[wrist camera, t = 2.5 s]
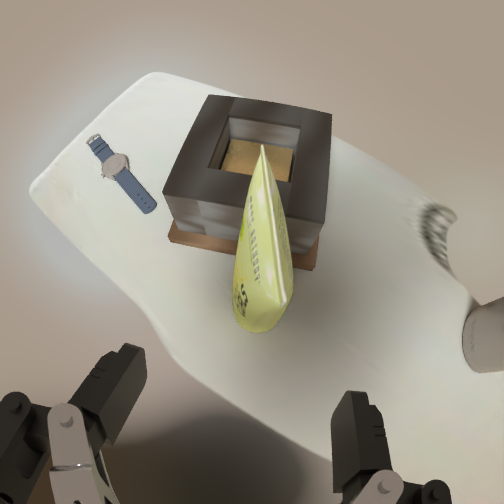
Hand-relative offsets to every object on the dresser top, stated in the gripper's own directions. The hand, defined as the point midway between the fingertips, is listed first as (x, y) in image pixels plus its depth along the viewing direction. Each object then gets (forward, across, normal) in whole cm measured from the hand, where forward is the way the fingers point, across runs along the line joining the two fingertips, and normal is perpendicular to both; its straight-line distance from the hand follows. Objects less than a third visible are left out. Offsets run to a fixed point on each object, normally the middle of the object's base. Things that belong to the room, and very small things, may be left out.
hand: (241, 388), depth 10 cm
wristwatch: (+28, +23, -2) cm, 36 cm away
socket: (+27, +3, -1) cm, 27 cm away
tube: (+18, 0, +8) cm, 20 cm away
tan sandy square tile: (+24, +3, -5) cm, 24 cm away
